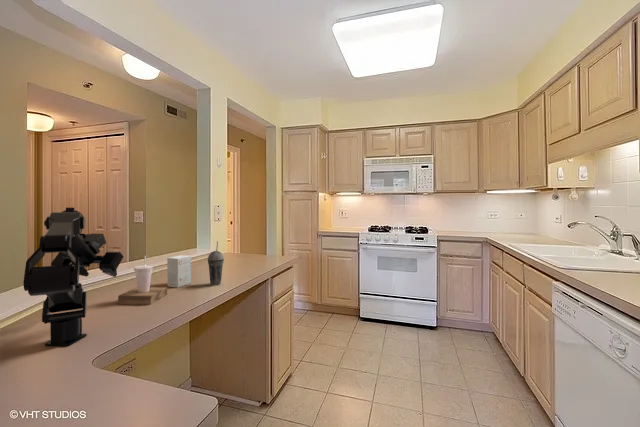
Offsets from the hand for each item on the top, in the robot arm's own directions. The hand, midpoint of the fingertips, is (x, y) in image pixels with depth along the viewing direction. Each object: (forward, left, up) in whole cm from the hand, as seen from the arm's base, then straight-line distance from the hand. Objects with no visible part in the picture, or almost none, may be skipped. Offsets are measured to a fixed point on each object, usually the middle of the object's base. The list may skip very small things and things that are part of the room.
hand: (101, 275), depth 99 cm
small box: (+40, -7, -14) cm, 43 cm away
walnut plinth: (+19, -3, -14) cm, 23 cm away
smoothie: (+18, -3, -11) cm, 22 cm away
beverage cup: (+42, -23, -14) cm, 49 cm away
